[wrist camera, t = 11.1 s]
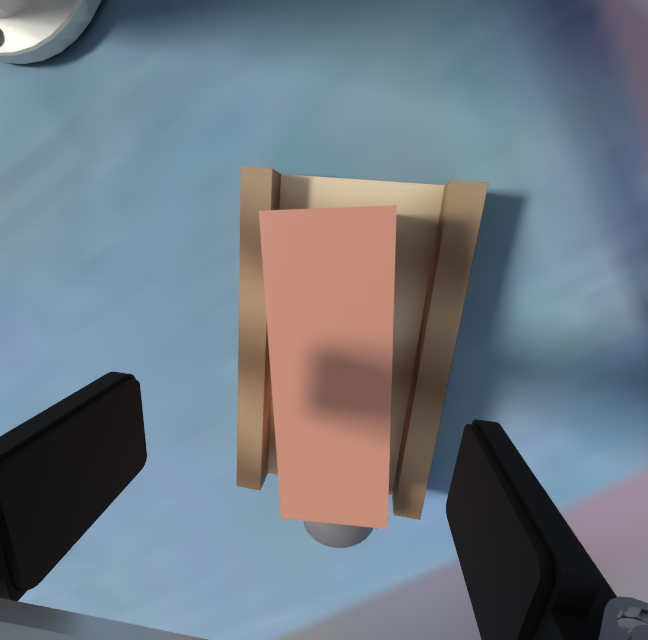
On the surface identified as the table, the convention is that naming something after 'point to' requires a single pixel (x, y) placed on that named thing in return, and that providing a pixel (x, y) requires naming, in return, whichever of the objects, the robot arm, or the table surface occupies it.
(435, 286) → the cradle
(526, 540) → the robot arm
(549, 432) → the table surface
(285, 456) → the salmon rectangular block
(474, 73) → the table surface
